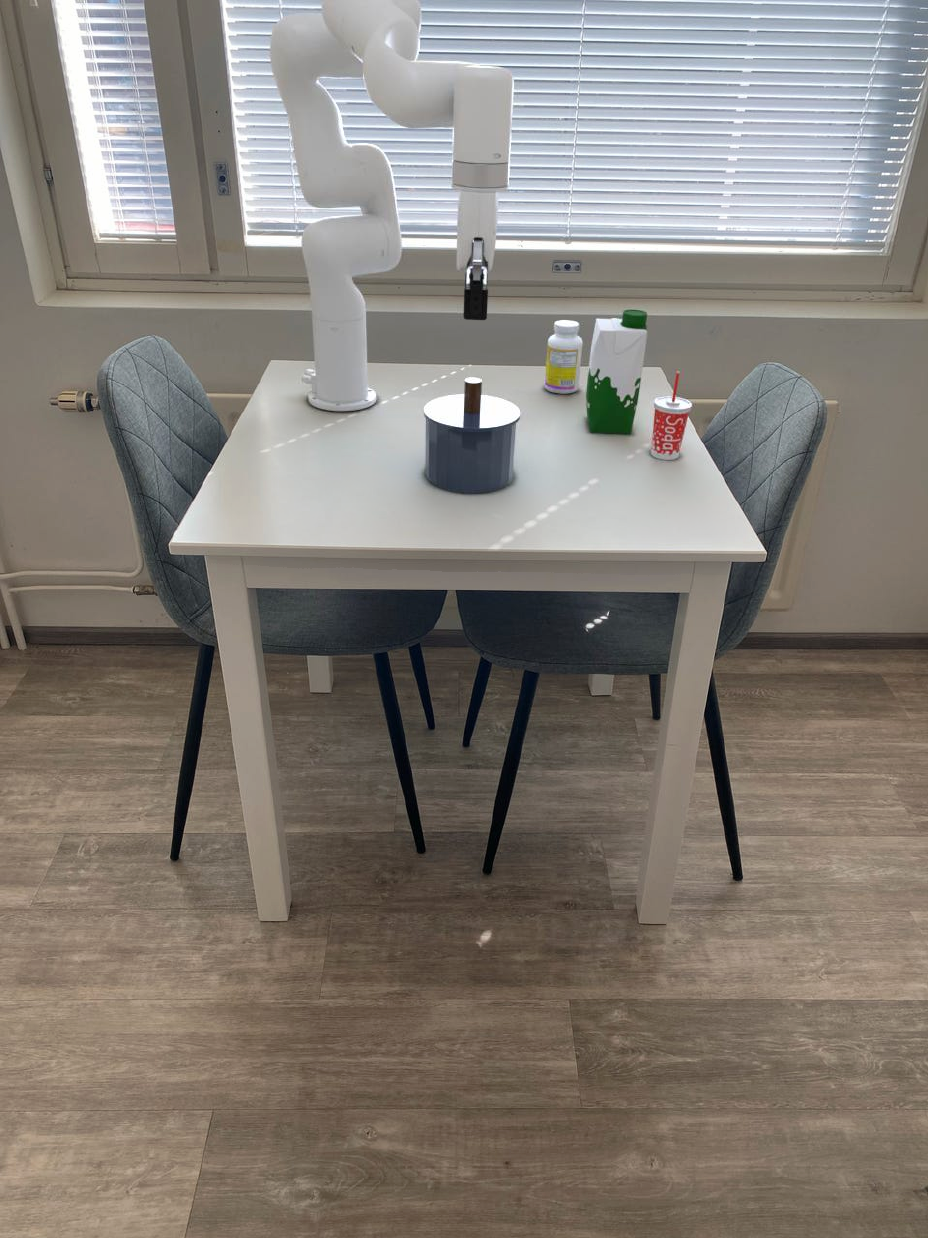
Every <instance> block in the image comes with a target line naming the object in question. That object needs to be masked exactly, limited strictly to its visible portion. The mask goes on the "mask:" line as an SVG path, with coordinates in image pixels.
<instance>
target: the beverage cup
mask: <svg viewBox="0 0 928 1238" xmlns="http://www.w3.org/2000/svg"><path fill="white" fill-rule="evenodd" d="M680 373H681V372H680V371H676V373H675V379H674V384H673V385H674V386H673V392H672V396H669V395H668V396H659V397H656V398H655V399H654V400H653V408H654V414H653V415H654V416H653V425H652V436H651V449H650V455H651V456H652V457H654V458H656V459H659V460H664V461H672V460H673V461H674V460H675V459H678V458H679V457H680V451H681V447H682V444H683V439H684V435H685V431H686V428H687V427H686V426H687V423H688V419H689V415H690V412H691V411H692V407H693V403H692V402H691V401H690V400H688V399H686V398H683V397H678V396H677V391H678V390H677V389H678V385H679V380H680V379H679V378H680Z"/></svg>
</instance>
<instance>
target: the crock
mask: <svg viewBox="0 0 928 1238" xmlns="http://www.w3.org/2000/svg"><path fill="white" fill-rule="evenodd" d="M516 431H517V423H516V424H514V425H512V426H510V427H508V428H505V429H501V430H496V431H487V432H465V431H457V430H451V429H447V428H443V427H440V426H437V425H435V424H433V423H431V422H430V421H428V420H427V419H426V418H425V460H424V461H425V465H424V466H425V468H424V472H425V477H426V480H427V481H428V482H429V483H430V484H431V485H433V486H434V487H437V488H439V489H441V490H443V491H448V492H450V493H451V492H452V493H455V494H466V495H477V494H480V495H481V494H488V493H493V492H496V491H499V490H502V489H504V488H505V487H507V486H508V485H510V484H511V482H512V480H513V475H514V461H515V445H516Z"/></svg>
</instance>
